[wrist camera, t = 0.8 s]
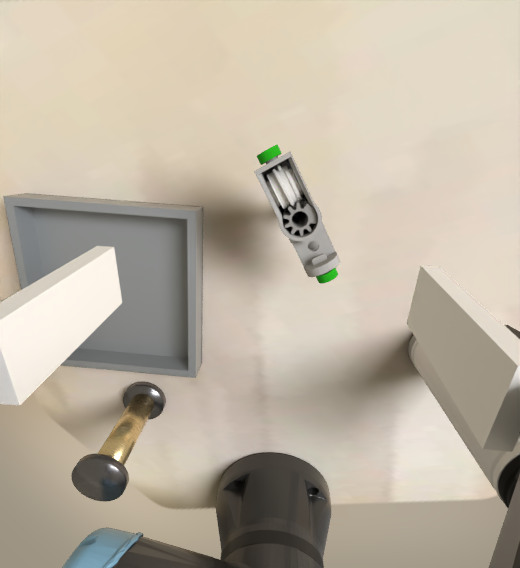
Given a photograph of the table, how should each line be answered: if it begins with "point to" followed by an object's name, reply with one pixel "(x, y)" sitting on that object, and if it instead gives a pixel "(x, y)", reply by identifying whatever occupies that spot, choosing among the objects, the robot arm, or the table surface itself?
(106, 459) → the bobbin
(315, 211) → the mechanical component
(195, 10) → the table surface
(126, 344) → the parts tray
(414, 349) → the travel mug
